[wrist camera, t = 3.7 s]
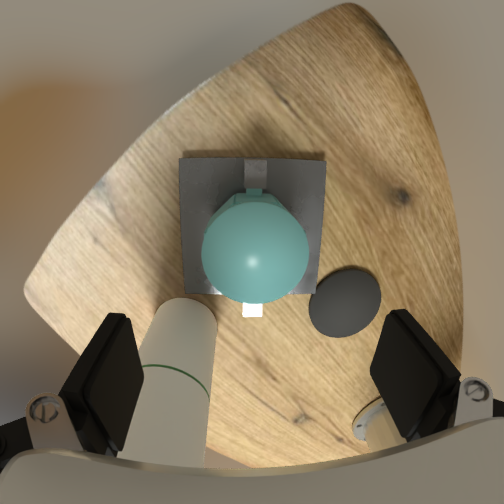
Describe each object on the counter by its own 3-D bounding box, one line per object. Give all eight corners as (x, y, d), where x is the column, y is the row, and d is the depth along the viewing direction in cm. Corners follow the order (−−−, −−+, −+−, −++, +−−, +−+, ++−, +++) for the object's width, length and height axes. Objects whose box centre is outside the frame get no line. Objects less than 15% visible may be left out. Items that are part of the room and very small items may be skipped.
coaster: (385, 268, 30) (387, 270, 29) (370, 332, 32) (372, 334, 32) (312, 268, 29) (314, 271, 29) (304, 336, 32) (305, 339, 31)
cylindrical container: (144, 329, 31) (65, 532, 8) (173, 285, 29) (81, 529, 6) (196, 359, 33) (167, 566, 9) (230, 320, 31) (222, 566, 7)
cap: (208, 178, 23) (199, 185, 18) (299, 180, 23) (313, 187, 18) (210, 286, 26) (204, 316, 21) (292, 286, 26) (302, 315, 22)
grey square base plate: (181, 158, 25) (161, 160, 19) (322, 160, 26) (349, 164, 19) (187, 288, 29) (173, 325, 23) (312, 288, 30) (330, 325, 23)
